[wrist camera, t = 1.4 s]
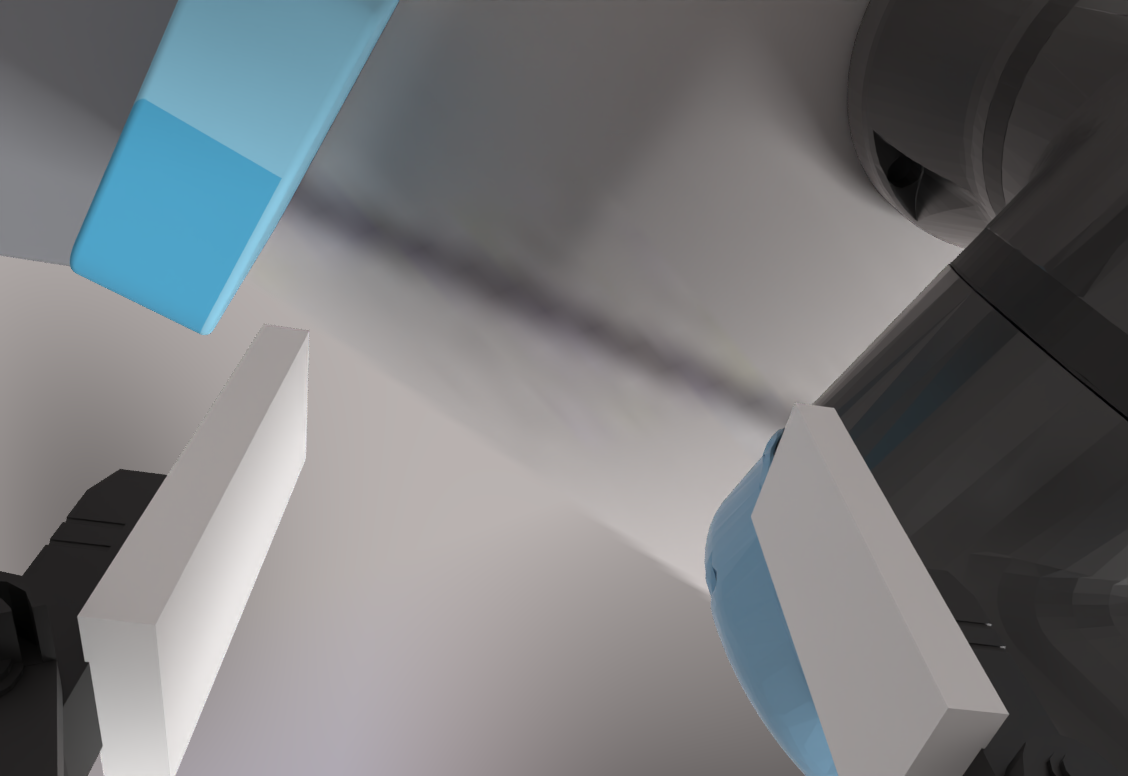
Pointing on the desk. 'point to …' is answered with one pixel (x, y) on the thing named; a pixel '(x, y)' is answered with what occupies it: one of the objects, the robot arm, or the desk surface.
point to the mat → (65, 110)
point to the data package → (220, 147)
